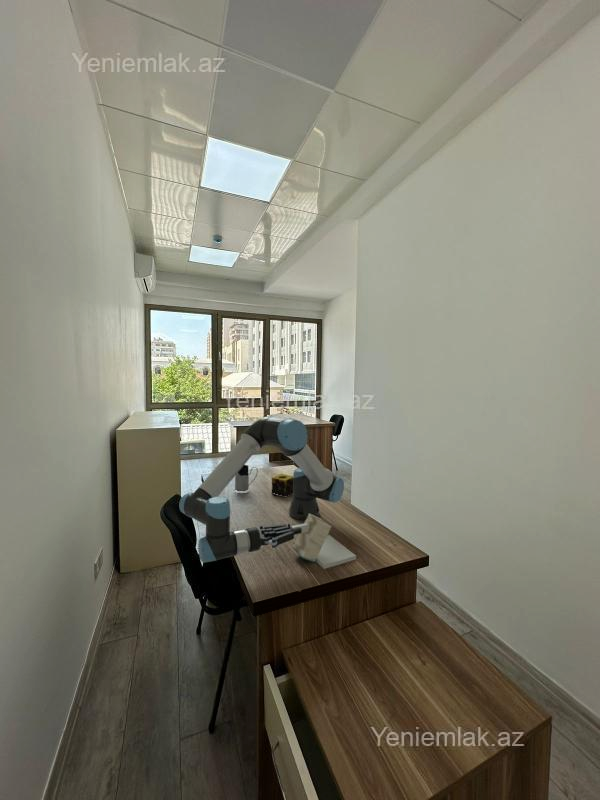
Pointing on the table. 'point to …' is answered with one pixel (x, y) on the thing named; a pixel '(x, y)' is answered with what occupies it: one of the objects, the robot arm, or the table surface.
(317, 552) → the birch block
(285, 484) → the candle
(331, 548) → the pad
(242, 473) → the glass mug
